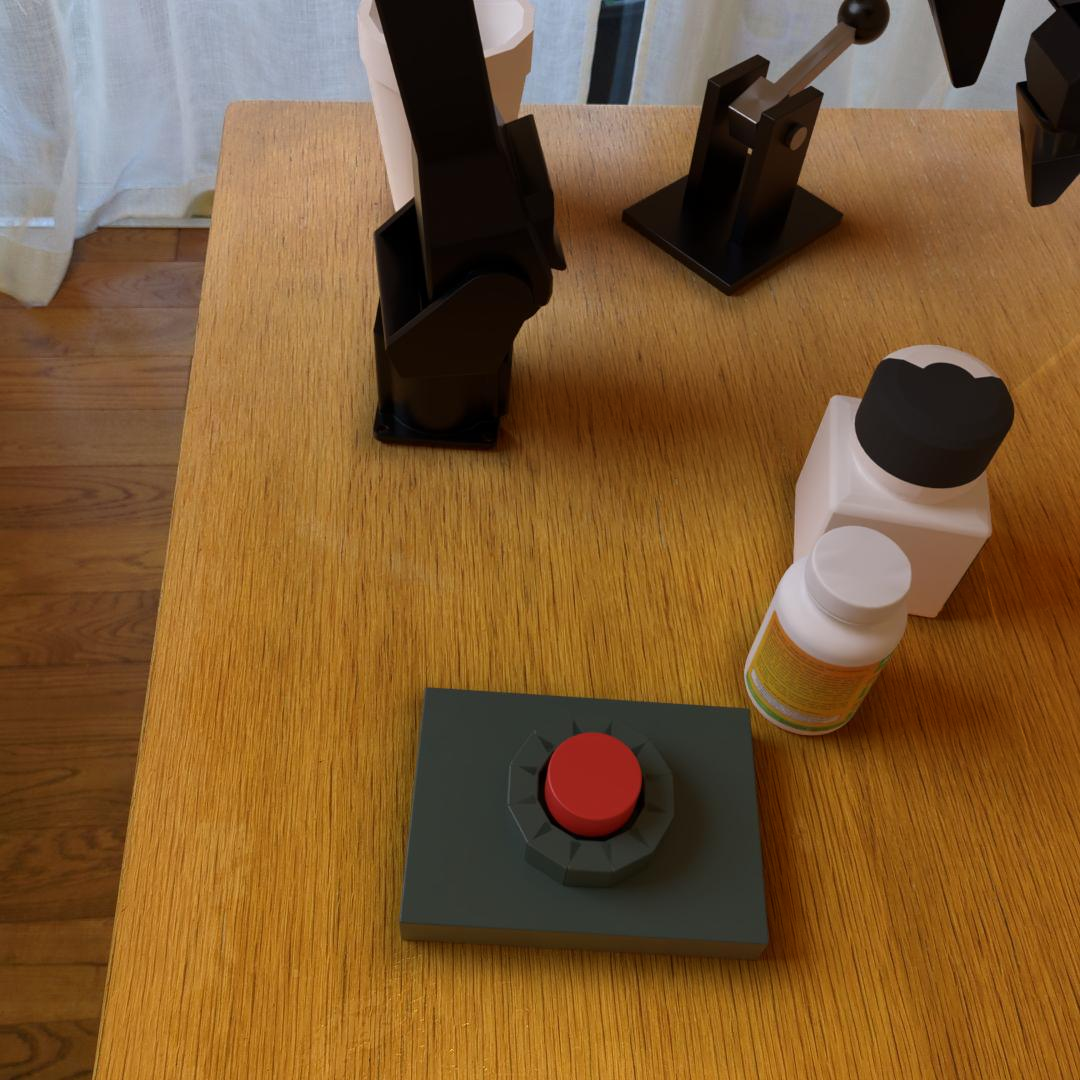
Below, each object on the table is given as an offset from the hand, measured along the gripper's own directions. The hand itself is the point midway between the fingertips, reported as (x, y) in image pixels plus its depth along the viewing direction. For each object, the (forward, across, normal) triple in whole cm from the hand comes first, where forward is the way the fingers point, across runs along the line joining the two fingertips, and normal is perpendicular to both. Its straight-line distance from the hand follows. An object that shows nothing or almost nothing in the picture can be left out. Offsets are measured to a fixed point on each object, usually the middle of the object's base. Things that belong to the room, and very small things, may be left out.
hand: (1000, 141), depth 52 cm
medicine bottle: (+14, -12, +9) cm, 20 cm away
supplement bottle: (+13, -19, +14) cm, 27 cm away
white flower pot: (+11, +16, +26) cm, 33 cm away
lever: (+6, +16, +4) cm, 18 cm away
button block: (+11, -25, +25) cm, 37 cm away
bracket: (+14, +13, +9) cm, 21 cm away
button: (+7, -25, +25) cm, 35 cm away
